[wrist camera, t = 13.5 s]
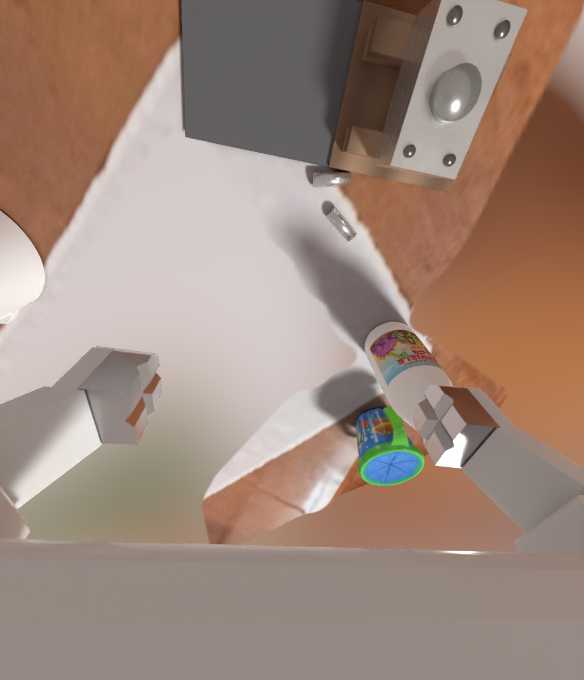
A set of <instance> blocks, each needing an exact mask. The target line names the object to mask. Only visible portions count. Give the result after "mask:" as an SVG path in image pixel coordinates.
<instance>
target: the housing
mask: <svg viewBox="0 0 584 680" xmlns="http://www.w3.org/2000/svg"><path fill="white" fill-rule="evenodd" d="M526 13H527V9H524V8H520V7H517V6H514V5H511V4H508V3H505V2H501V1H498V0H431V1H430V2H429V3H428V4H427V5H426V6H425V7H424V9H423V10H422V11H421V12H420V13H419V14H418V15H417V16H416V17H415V18H414V21H413V25H412V28H411V32H410V35H409V39H408V42H407V46H406V49H405V53H404V57H403V60H402V64H401V67H400V71H399V74H398V78H397V81H396V85H395V89H394V92H393V96H392V99H391V103H390V106H389V110H388V114H387V117H386V121H385V124H384V128H383V131H382V135H381V138H380V142H379V146H378V149H377V153H376V156H375V160H374V163H373V165H376V166H380V167H385V168H390V169H394V170H399V171H404V172H408V173H413V174H418V175H423V176H427V177H436V178H446V179H456V176H457V174H458V172H459V169H460V167H461V165H462V162H463V160H464V158H465V155H466V153H467V151H468V148H469V146H470V144H471V141H472V139H473V136H474V134H475V132H476V129H477V127H478V125H479V122H480V120H481V118H482V115H483V113H484V111H485V108H486V106H487V104H488V101H489V99H490V97H491V94H492V92H493V90H494V87H495V85H496V83H497V80H498V78H499V76H500V73H501V71H502V69H503V66H504V64H505V62H506V59H507V57H508V55H509V52H510V50H511V48H512V45H513V43H514V41H515V38H516V36H517V34H518V31H519V29H520V27H521V24H522V22H523V20H524V17H525V15H526Z"/></svg>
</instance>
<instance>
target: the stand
mask: <svg viewBox="0 0 584 680" xmlns="http://www.w3.org/2000/svg"><path fill="white" fill-rule="evenodd" d="M416 16H417V15H413V14H410V13H407V12H403V11H400V10H396V9H393V8H390V7H386V6H383V5H379V4H376V3H373V2H369V1H366V0H363V2H362V7H361V12H360V17H359V22H358V27H357V31H356V36H355V41H354V46H353V51H352V55H351V60H350V65H349V70H348V75H347V80H346V84H345V89H344V94H343V99H342V104H341V109H340V113H339V118H338V123H337V128H336V133H335V137H334V142H333V147H332V152H331V157H330V162H329V166H328V167H332V168H336V169H341V170H346V171H350V172H355V173H360V174H365V175H370V176H374V177H379V178H384V179H389V180H394V181H398V182H403V183H408V184H413V185H418V186H422V187H427V188H432V189H437V190H442V191H447V192H448V190H449V188H450V186H451V183H452V181H453V179H446V178H436V177H427V176H423V175H418V174H413V173H408V172H404V171H399V170H394V169H390V168H385V167H380V166H376V165H373V163H374V160H375V156H376V153H377V149H378V146H379V142H380V138H381V135H382V131H383V128H384V124H385V121H386V117H387V114H388V110H389V106H390V103H391V99H392V96H393V92H394V89H395V85H396V81H397V78H398V74H399V71H400V67H401V64H402V60H403V57H404V53H405V49H406V46H407V42H408V39H409V35H410V32H411V28H412V25H413V21H414V18H415V17H416ZM511 55H512V54H511V53H509V55H508V57H507V59H506V62H505V64H504V66H503V69H502V71H501V73H500V76H499V78H498V80H497V83H496V85H495V86H497V85H499V83H500V80H501V78H502V76H503V73H504V71H505V69H506V66H507V64H508V62H509V59H510V57H511ZM468 154H469V152H467V153H466V155H465V158H464V160H463V162H462V165H461V167H460V169H459V172H458V174H457V176H459V175H460V173H461V170H462V168H463V166H464V164H465V161H466V159H467V157H468Z"/></svg>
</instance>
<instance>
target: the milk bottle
mask: <svg viewBox="0 0 584 680" xmlns="http://www.w3.org/2000/svg"><path fill="white" fill-rule="evenodd" d="M365 352H366V355H367V357H368V359H369V362H370V364H371V366H372V368H373V370H374V373H375V375H376V377H377V379H378V381H379V383H380V385H381V388H382V390H383V392H384V394H385V396H386V398H387V400H388V402H389V404H390V405H391V407H392V408H393V410H394V411H395V412H396V413H397V414H398V416H399V417H401V418H402V419H403V420H404V421H405V422H407V423H408V424H409V425H411V426H412V427H413V428H414V429H416V428H415V425H414V420H413V418H414V410H415V408H416V407H417V405H418V403H420V402H422V401H423V400H425V396H424V393H425V391H426V389H427V388H428V387H429V386H431V385H432V384H433V385H443V386H452V383H451V381H450V379H449V378H448V376H447V375H446V373H445V372H444V370H443V369H442V368H441V366H440V365H439V364H438V362H437V361H436V360H435V358H434V357H433V356H432V355H431V353H430V352H429V351H428V349H427V348H426V347H425V346H424V344H423V343H422V342H421V341H420V339H419V338H418V337H417V336H416V334H415V333H414V332H413V331H412V330H411V328H410V327H408V326H407V325H405V324H403V323H400V322H387V323H383V324H381V325H379V326H377V327H376V328H374V329H373V330H372V331H371V332H370V333H369V335H368V336H367V338H366V341H365ZM452 387H453V386H452ZM425 442H426V439H424V440H423V443H424V445H425ZM443 467H446V466H443Z"/></svg>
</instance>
